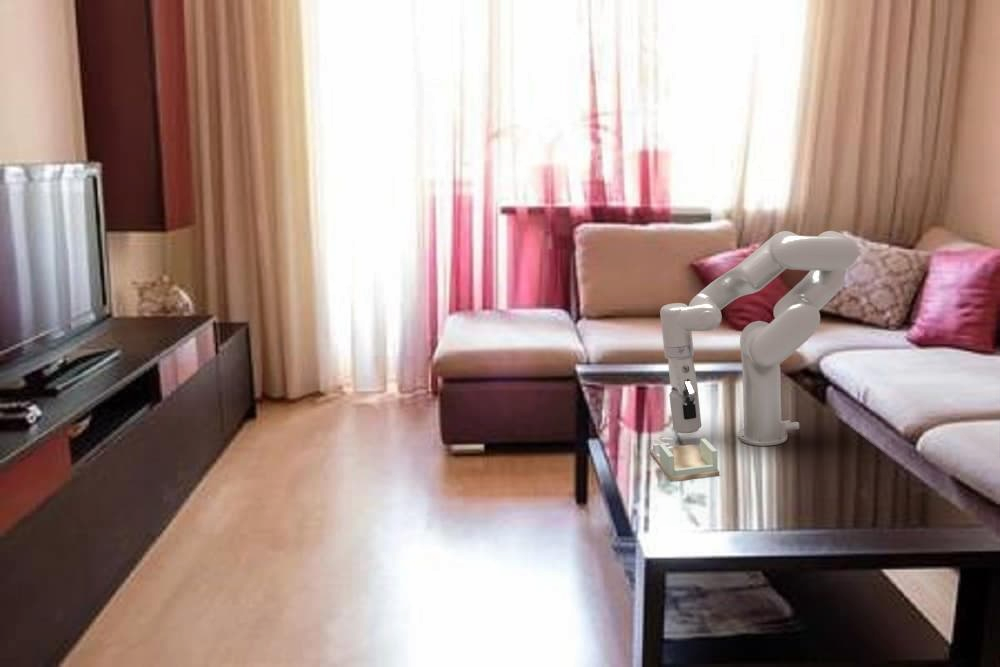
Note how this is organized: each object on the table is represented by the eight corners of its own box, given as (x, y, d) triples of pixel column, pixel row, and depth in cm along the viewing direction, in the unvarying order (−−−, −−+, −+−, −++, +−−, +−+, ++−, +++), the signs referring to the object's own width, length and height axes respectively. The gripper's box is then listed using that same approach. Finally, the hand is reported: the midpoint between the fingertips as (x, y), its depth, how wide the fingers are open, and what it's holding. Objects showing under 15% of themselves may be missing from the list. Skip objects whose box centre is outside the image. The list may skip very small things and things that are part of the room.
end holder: (705, 457, 224) (705, 438, 223) (718, 471, 215) (718, 451, 214) (659, 462, 223) (658, 444, 222) (670, 477, 214) (669, 457, 213)
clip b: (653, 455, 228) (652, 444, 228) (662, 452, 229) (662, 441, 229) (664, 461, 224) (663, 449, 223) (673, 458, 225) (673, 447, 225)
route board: (694, 447, 234) (694, 444, 233) (719, 475, 215) (719, 471, 214) (649, 453, 233) (649, 449, 232) (671, 481, 214) (671, 477, 213)
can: (702, 433, 233) (697, 390, 230) (673, 435, 235) (668, 392, 232) (701, 423, 240) (697, 381, 237) (673, 425, 242) (668, 384, 239)
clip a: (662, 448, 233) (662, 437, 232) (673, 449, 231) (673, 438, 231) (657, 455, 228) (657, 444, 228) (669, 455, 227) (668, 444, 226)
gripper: (703, 355, 224) (709, 421, 228) (682, 340, 241) (689, 402, 245) (674, 360, 224) (681, 426, 228) (655, 345, 241) (662, 406, 245)
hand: (685, 413), depth 236 cm, fingers closed on can, 7 cm apart
